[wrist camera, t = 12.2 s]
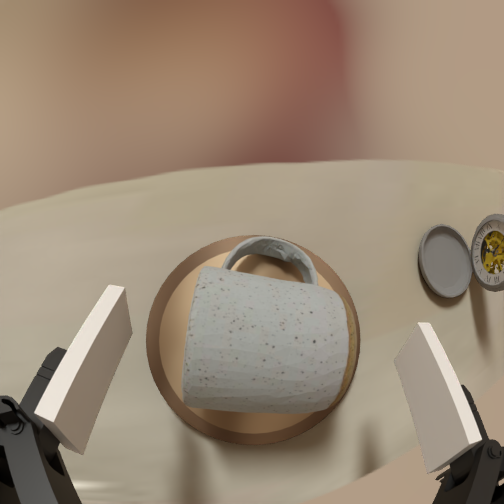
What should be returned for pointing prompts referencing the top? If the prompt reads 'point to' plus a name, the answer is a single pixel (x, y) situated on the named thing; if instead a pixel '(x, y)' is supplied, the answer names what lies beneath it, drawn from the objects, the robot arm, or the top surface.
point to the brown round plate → (174, 338)
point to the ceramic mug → (266, 338)
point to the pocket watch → (463, 257)
